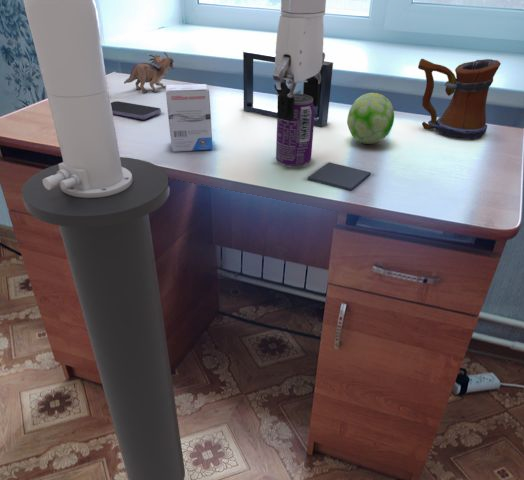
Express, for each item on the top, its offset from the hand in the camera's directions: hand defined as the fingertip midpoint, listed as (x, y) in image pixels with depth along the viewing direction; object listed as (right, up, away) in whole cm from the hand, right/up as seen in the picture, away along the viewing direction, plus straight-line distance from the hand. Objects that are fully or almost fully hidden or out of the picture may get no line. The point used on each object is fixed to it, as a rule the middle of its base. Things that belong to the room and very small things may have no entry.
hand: (298, 112), depth 96 cm
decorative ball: (+16, 0, +15) cm, 22 cm away
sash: (+1, +10, +23) cm, 25 cm away
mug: (+36, +6, +22) cm, 43 cm away
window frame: (-1, +12, +28) cm, 30 cm away
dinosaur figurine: (-38, +26, +43) cm, 63 cm away
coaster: (+8, -12, +1) cm, 14 cm away
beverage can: (-1, -7, +6) cm, 10 cm away
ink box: (-22, -2, +12) cm, 25 cm away
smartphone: (-39, +13, +28) cm, 50 cm away
